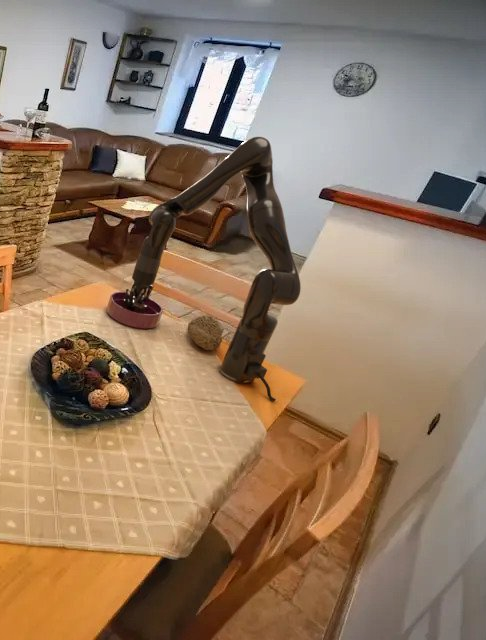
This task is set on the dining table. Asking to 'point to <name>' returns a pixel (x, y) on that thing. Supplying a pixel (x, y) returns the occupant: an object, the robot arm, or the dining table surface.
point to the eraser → (136, 307)
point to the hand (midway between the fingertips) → (132, 313)
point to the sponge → (206, 332)
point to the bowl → (133, 318)
